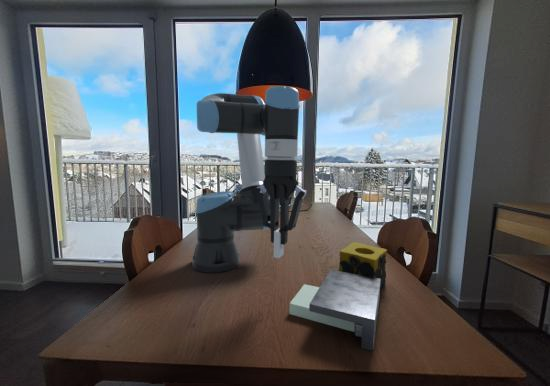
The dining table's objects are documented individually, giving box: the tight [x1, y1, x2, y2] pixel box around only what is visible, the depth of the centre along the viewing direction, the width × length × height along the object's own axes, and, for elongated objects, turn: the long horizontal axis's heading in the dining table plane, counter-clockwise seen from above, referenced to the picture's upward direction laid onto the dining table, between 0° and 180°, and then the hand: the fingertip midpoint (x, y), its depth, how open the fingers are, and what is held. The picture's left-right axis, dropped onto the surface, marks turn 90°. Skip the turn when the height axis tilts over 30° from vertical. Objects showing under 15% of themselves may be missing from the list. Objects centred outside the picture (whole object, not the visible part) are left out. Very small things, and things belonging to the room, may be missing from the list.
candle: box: [338, 241, 388, 289], centre depth 72 cm, size 10×10×10 cm
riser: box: [309, 269, 381, 352], centre depth 57 cm, size 12×18×6 cm, turn 155°
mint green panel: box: [289, 284, 356, 333], centre depth 59 cm, size 14×10×3 cm
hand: (278, 255), depth 64 cm, fingers closed
